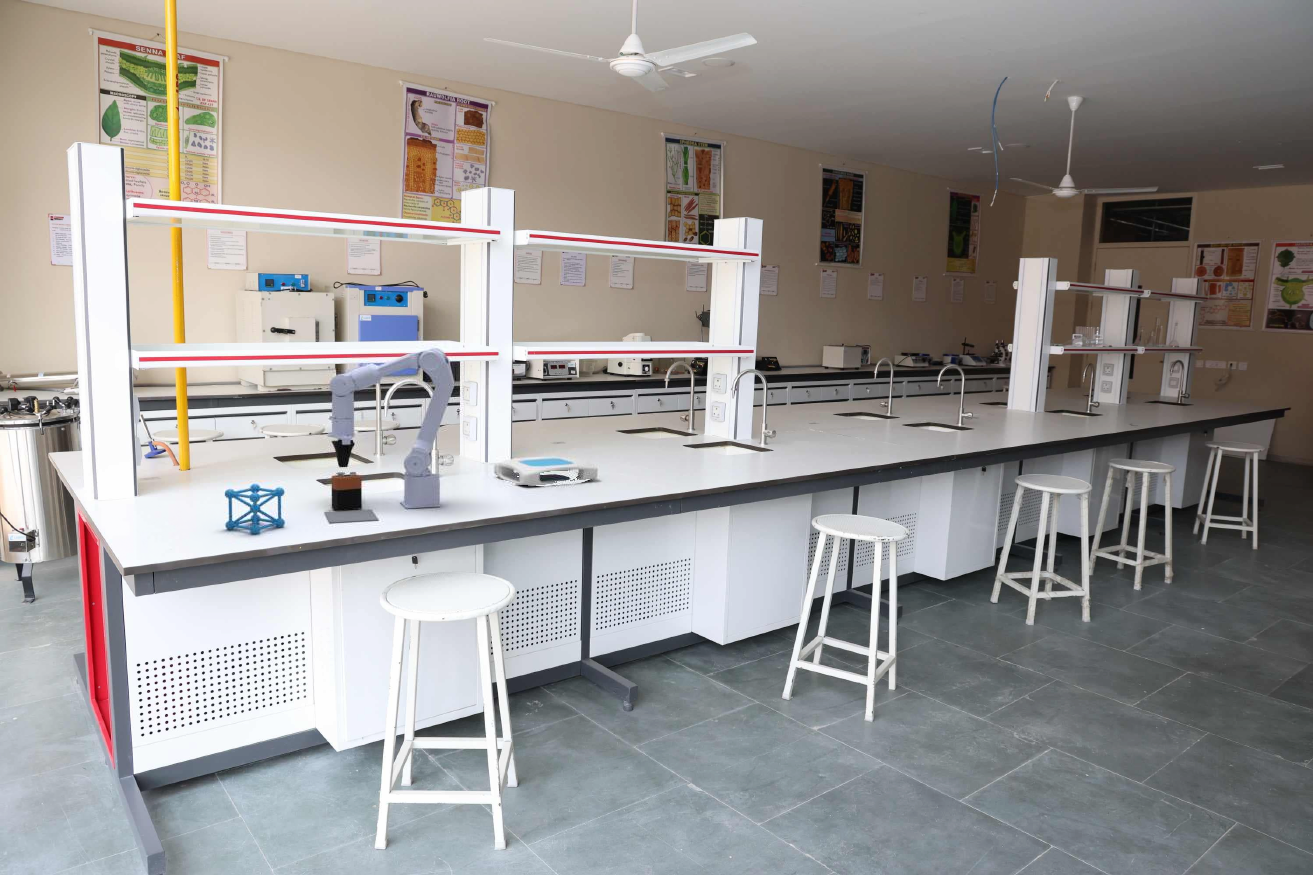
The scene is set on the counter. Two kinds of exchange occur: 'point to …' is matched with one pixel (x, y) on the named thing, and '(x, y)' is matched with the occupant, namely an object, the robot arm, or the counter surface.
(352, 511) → the mat
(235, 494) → the molecular structure
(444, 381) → the robot arm
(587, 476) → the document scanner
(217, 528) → the counter surface
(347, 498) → the battery
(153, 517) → the counter surface
